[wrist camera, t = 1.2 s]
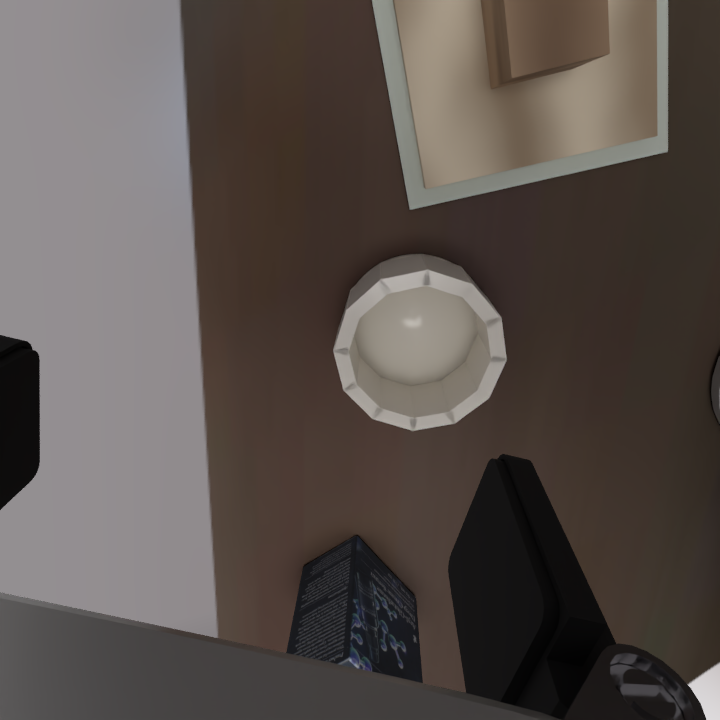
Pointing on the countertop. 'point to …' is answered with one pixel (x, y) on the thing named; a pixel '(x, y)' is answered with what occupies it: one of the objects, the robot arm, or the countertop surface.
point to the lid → (525, 80)
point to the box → (356, 614)
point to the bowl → (419, 343)
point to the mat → (513, 177)
